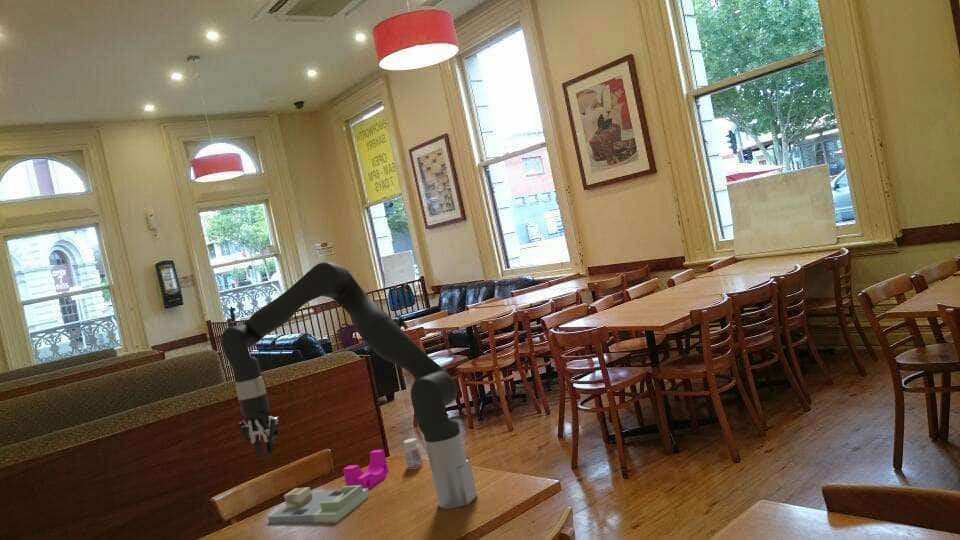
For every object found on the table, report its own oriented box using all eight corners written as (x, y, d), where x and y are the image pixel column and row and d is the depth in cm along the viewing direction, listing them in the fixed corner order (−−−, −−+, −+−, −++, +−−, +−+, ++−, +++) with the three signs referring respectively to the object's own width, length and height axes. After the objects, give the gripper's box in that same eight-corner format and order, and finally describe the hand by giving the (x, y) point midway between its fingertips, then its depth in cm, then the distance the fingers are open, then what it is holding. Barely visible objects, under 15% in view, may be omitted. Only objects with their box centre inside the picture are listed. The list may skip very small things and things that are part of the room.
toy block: (365, 493, 191) (359, 468, 191) (348, 494, 194) (342, 469, 194) (395, 473, 204) (390, 449, 204) (379, 473, 207) (374, 450, 207)
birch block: (312, 499, 188) (309, 487, 188) (301, 507, 183) (298, 494, 183) (298, 500, 190) (295, 488, 190) (286, 507, 185) (284, 495, 185)
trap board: (370, 497, 187) (366, 481, 187) (337, 523, 172) (333, 506, 172) (306, 500, 196) (303, 485, 195) (269, 526, 181) (266, 509, 181)
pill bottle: (417, 470, 202) (411, 442, 202) (404, 470, 205) (398, 443, 205) (426, 464, 206) (420, 437, 206) (414, 464, 209) (408, 437, 209)
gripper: (280, 388, 189) (294, 447, 190) (242, 393, 195) (255, 451, 195) (262, 395, 182) (276, 457, 183) (223, 401, 188) (237, 461, 188)
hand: (265, 454), depth 189 cm, fingers open, 3 cm apart
